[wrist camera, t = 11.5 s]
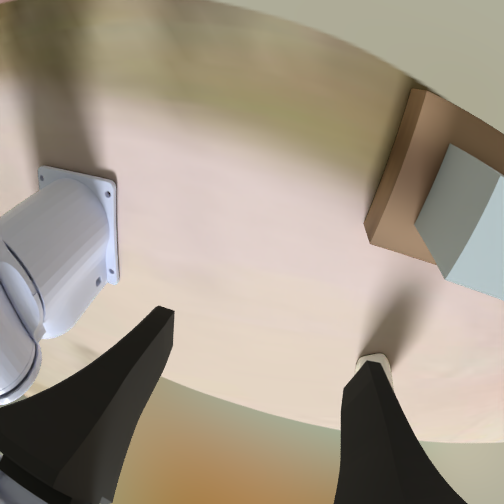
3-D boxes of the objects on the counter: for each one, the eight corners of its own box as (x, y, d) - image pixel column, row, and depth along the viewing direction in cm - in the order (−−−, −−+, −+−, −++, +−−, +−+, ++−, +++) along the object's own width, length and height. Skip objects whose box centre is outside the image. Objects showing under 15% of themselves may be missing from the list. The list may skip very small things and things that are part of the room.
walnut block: (466, 256, 19) (481, 280, 16) (362, 220, 19) (369, 243, 16) (515, 147, 14) (539, 161, 11) (408, 87, 14) (426, 90, 11)
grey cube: (475, 250, 15) (510, 302, 11) (413, 224, 15) (445, 279, 11) (510, 180, 12) (560, 219, 8) (449, 143, 12) (500, 175, 8)
